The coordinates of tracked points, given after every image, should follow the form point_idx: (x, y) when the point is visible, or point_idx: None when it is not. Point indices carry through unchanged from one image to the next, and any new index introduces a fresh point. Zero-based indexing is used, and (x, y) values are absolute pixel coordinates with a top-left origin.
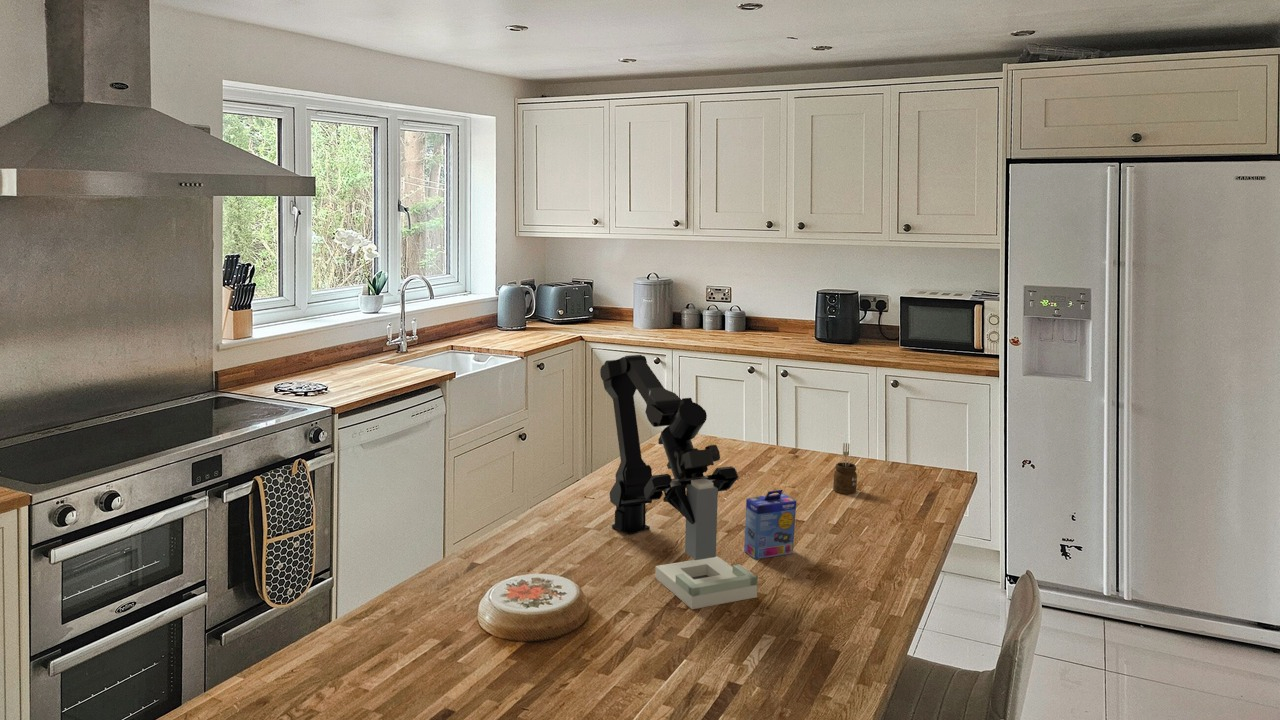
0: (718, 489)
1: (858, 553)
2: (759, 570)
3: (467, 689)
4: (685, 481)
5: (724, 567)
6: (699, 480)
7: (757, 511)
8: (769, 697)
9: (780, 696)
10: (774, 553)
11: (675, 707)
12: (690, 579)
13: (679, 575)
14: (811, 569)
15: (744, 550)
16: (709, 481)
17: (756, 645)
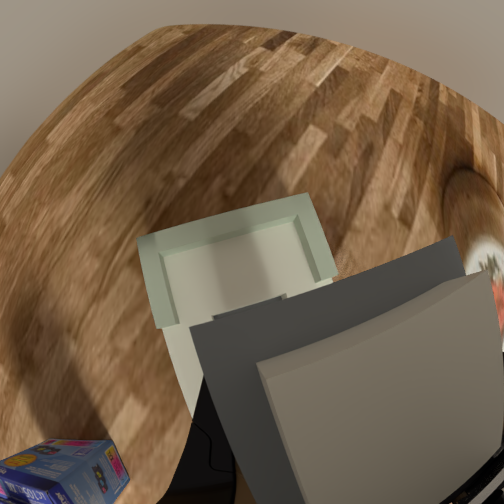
0: (163, 499)
1: None
2: (111, 388)
3: (471, 114)
4: (463, 499)
5: (192, 361)
6: (446, 467)
7: (56, 486)
8: (239, 33)
9: (228, 33)
10: (73, 441)
11: (326, 40)
12: (294, 294)
13: (330, 269)
14: (29, 363)
15: (129, 478)
16: (324, 464)
17: (216, 95)
